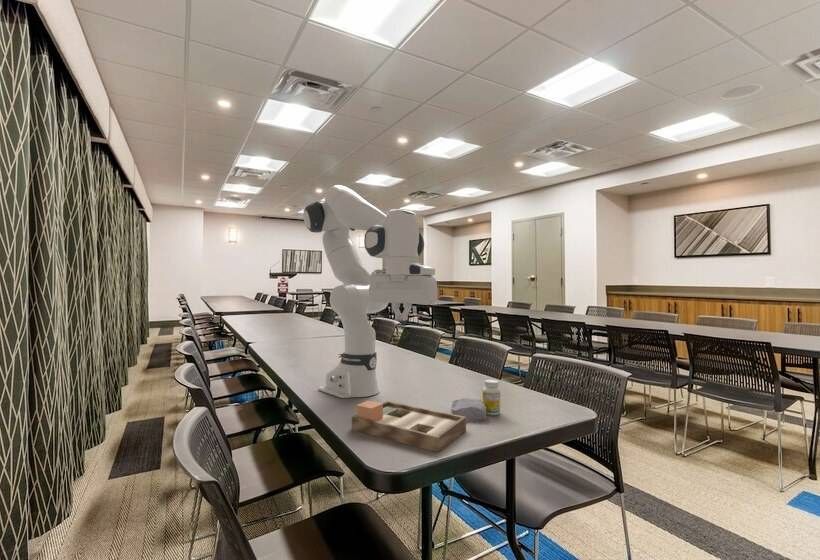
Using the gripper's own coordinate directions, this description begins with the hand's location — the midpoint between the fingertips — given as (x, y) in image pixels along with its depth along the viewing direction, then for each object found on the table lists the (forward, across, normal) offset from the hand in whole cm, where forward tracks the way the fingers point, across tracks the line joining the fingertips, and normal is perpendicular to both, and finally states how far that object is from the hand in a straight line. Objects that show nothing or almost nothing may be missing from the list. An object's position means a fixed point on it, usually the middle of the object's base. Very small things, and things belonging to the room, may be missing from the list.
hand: (401, 320), depth 103 cm
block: (+27, -7, -4) cm, 28 cm away
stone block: (+30, +10, +22) cm, 38 cm away
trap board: (+29, +2, +1) cm, 29 cm away
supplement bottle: (+29, +16, +27) cm, 43 cm away
